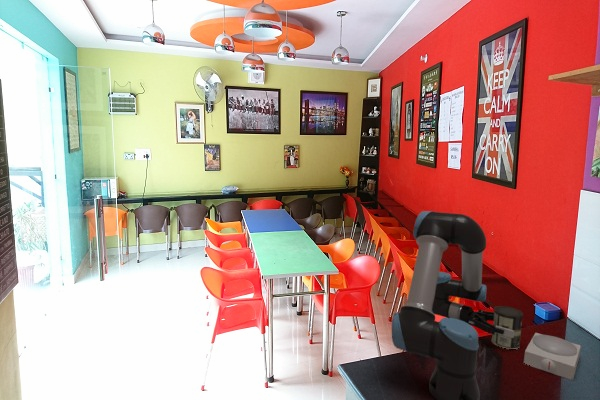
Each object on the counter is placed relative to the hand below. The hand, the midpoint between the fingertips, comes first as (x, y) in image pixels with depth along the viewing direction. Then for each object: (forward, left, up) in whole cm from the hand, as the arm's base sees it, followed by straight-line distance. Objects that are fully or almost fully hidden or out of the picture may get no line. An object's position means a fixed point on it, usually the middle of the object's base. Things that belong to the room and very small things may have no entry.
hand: (517, 329), depth 153 cm
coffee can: (-4, 0, -8) cm, 9 cm away
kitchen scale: (+13, -2, -7) cm, 15 cm away
